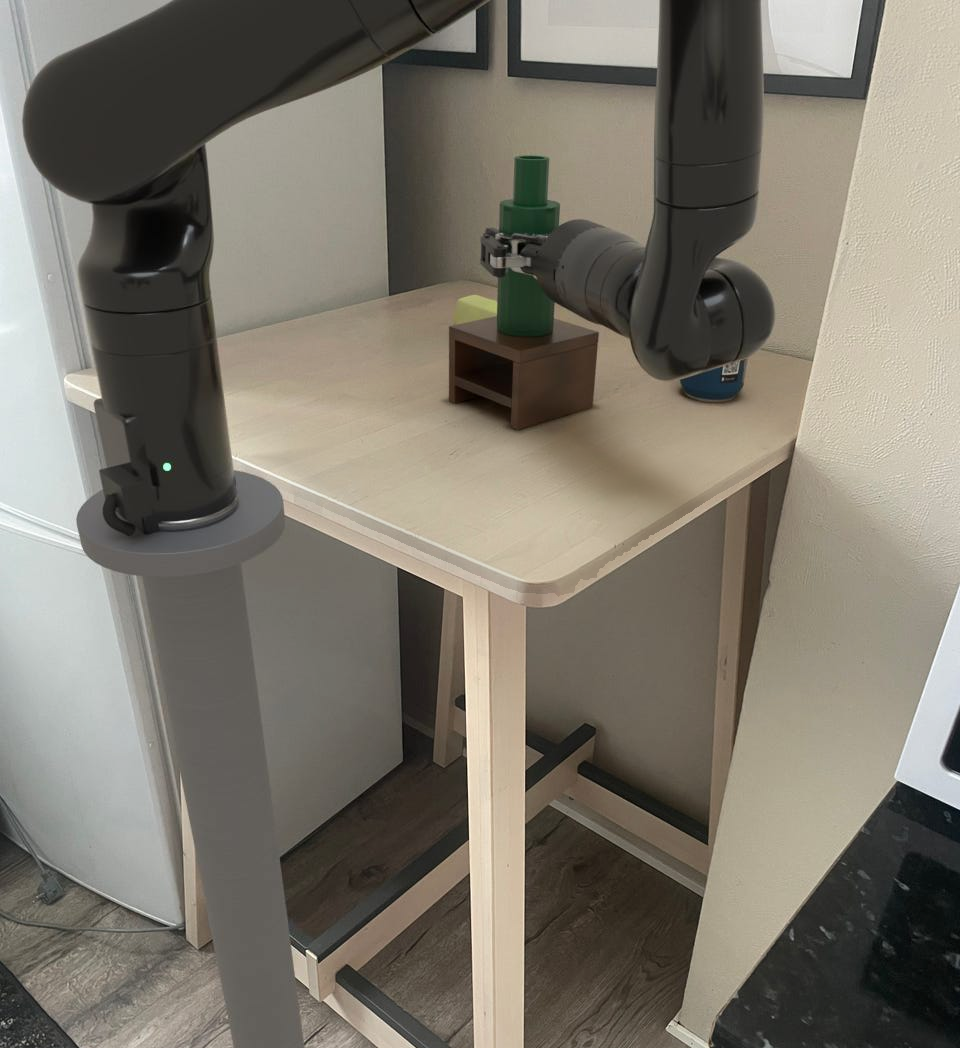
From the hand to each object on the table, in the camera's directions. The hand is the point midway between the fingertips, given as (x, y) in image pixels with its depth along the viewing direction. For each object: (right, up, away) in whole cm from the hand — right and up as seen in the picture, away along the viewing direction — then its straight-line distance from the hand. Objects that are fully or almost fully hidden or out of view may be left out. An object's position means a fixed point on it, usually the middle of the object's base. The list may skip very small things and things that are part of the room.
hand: (518, 237), depth 98 cm
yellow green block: (0, -2, +27) cm, 27 cm away
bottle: (+1, -8, +3) cm, 9 cm away
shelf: (+1, -15, +7) cm, 17 cm away
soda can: (+22, -13, +11) cm, 28 cm away
